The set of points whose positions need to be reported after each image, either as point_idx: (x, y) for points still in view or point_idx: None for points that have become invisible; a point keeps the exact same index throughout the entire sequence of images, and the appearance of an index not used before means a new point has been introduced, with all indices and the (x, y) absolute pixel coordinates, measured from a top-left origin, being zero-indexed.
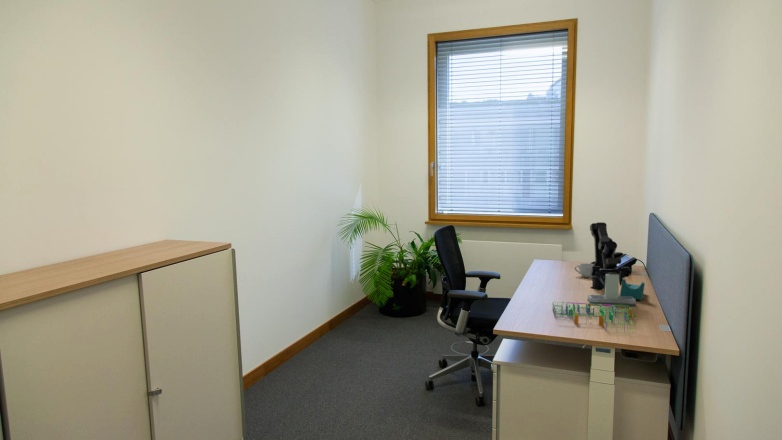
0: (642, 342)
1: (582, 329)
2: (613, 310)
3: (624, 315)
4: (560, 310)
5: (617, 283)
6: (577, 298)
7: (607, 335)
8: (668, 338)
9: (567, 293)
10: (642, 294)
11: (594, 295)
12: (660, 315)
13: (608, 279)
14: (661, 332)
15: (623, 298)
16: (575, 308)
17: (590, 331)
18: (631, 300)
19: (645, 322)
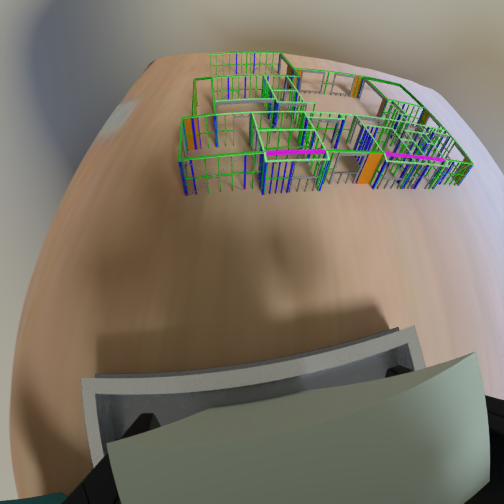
0: (209, 56)
1: (328, 77)
2: (262, 98)
3: (228, 76)
4: (413, 108)
5: (196, 421)
6: None
7: (273, 63)
8: (149, 76)
9: None
10: (38, 498)
11: None
12: (53, 227)
13: (380, 383)
14: (145, 91)
15: None
16: (412, 180)
17: None
18: (110, 378)
19: (150, 132)
